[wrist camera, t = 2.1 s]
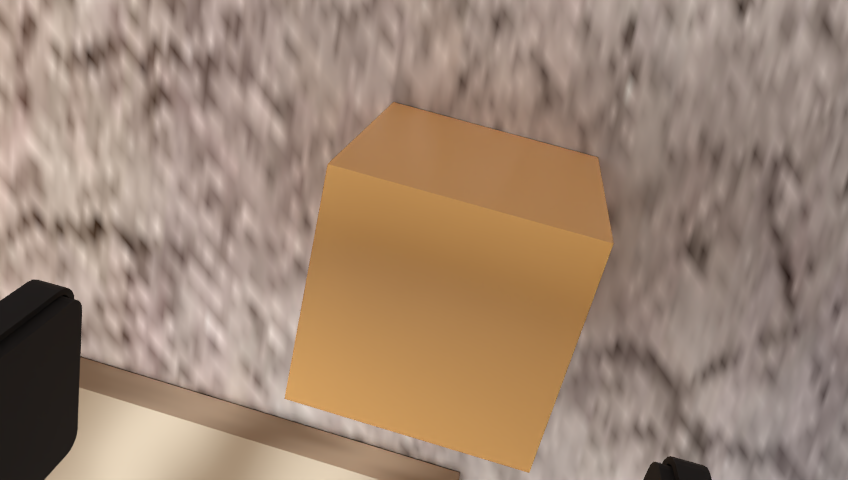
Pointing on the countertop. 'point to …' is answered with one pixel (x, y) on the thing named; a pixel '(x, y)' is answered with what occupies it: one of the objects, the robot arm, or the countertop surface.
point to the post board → (208, 439)
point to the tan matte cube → (450, 282)
